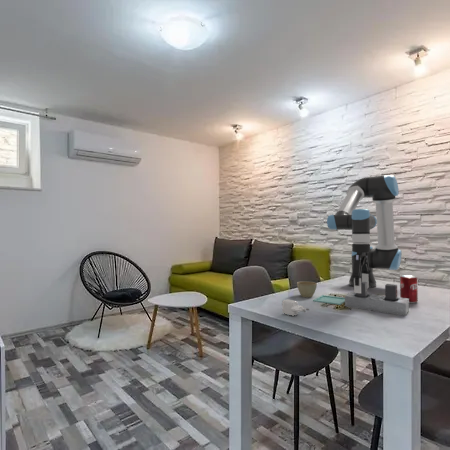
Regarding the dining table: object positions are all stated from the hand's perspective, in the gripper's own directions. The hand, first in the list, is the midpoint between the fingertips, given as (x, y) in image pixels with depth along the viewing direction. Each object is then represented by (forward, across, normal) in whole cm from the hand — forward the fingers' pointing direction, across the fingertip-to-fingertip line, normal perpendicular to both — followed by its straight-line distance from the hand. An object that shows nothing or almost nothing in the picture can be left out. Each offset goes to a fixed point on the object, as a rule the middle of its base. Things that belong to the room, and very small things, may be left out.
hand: (361, 290), depth 143 cm
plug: (+6, 0, 0) cm, 6 cm away
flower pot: (+8, -5, -28) cm, 29 cm away
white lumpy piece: (+8, +30, -19) cm, 36 cm away
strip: (+7, -5, +6) cm, 11 cm away
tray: (+7, -3, -15) cm, 17 cm away
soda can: (+8, -22, +16) cm, 28 cm away
